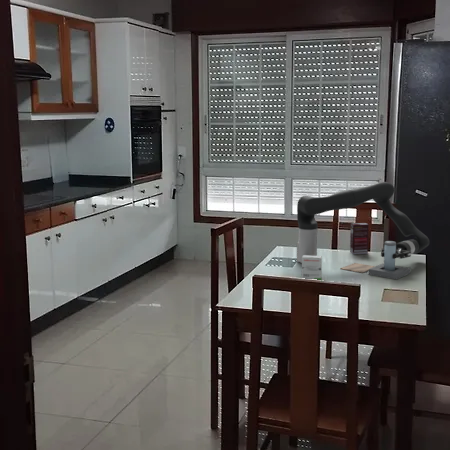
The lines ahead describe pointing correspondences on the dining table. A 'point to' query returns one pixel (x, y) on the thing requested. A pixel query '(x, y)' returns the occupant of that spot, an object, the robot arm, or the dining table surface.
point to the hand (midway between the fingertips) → (387, 255)
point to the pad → (357, 267)
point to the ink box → (312, 267)
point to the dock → (389, 272)
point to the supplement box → (359, 238)
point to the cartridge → (389, 255)
